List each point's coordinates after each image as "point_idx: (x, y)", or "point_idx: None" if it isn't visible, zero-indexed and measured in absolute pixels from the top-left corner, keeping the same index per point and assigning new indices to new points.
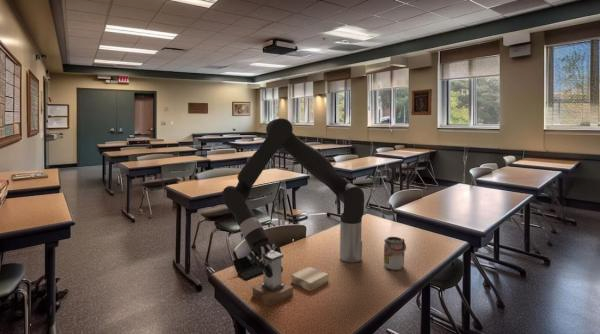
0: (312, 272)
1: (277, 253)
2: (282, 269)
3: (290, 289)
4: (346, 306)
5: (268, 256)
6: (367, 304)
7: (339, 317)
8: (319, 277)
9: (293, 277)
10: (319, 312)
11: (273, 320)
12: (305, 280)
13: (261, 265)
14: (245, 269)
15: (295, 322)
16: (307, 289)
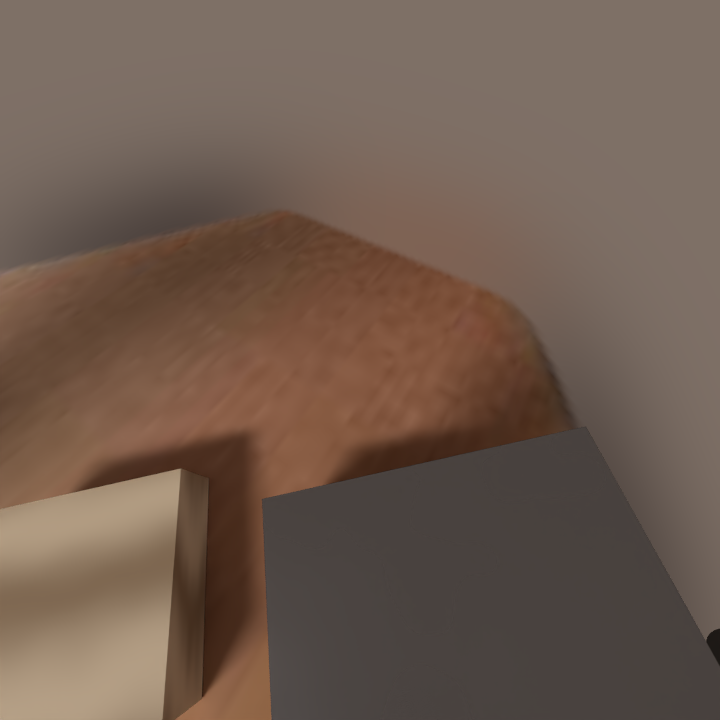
0: (24, 620)
1: (335, 662)
2: None
3: None
4: (204, 294)
5: (660, 620)
6: (143, 273)
7: (278, 259)
8: (75, 505)
9: (175, 680)
10: (312, 309)
11: (514, 351)
12: (170, 526)
13: (717, 633)
14: None
15: (432, 300)
16: (207, 504)
